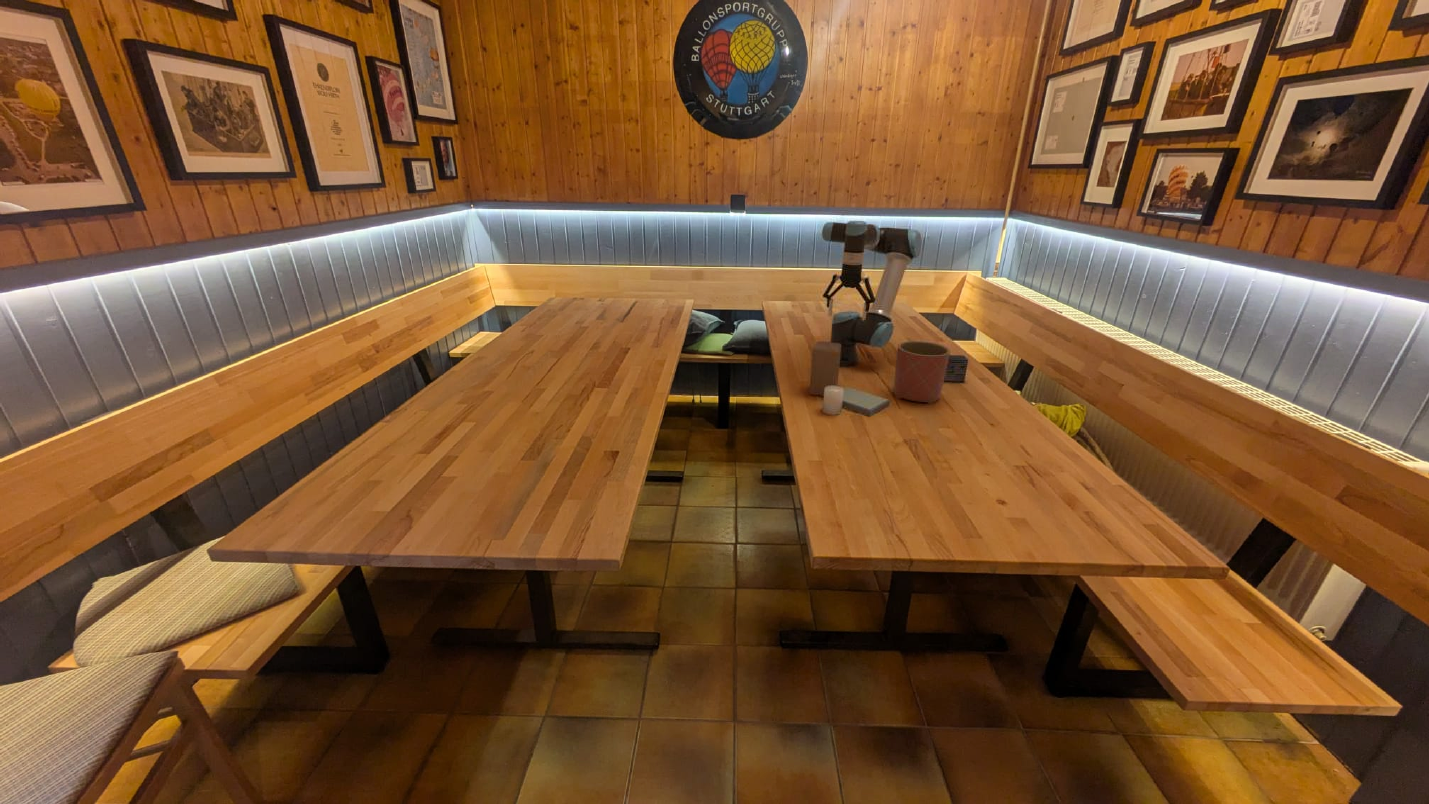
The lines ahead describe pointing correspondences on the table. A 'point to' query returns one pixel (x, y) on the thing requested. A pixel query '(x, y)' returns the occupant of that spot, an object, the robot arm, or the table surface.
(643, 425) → the table surface
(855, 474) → the table surface
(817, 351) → the wooden block
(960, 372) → the small box
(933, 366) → the planter
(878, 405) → the grey rectangular slab
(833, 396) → the white rounded cylinder
